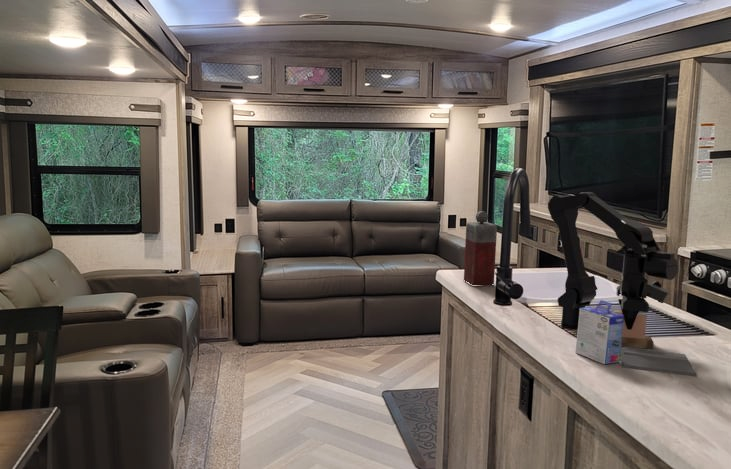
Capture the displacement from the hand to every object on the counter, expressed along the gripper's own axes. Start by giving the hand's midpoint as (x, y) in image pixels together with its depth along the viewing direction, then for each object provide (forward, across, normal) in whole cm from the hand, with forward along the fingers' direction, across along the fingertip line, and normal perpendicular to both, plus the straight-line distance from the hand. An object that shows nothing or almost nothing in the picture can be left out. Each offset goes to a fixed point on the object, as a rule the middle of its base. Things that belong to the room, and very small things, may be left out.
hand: (629, 328), depth 162 cm
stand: (+4, 0, 0) cm, 4 cm away
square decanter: (+4, +57, +48) cm, 75 cm away
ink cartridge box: (+4, -15, +9) cm, 18 cm away
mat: (+4, -13, -5) cm, 14 cm away
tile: (+3, 0, 0) cm, 3 cm away
